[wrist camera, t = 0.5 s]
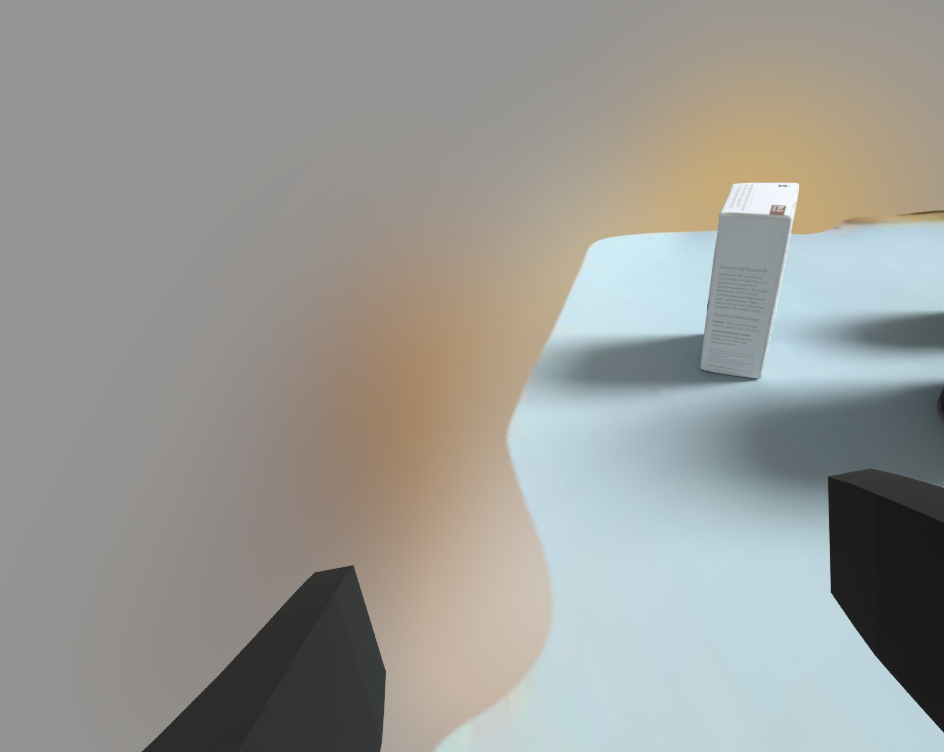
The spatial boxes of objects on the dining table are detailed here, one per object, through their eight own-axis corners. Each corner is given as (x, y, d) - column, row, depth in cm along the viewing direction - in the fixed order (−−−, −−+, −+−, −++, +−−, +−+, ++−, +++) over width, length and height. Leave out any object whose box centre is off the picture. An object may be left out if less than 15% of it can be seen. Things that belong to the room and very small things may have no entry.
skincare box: (712, 332, 47) (727, 180, 40) (774, 339, 45) (801, 180, 38) (697, 373, 43) (712, 211, 36) (765, 383, 41) (794, 213, 34)
